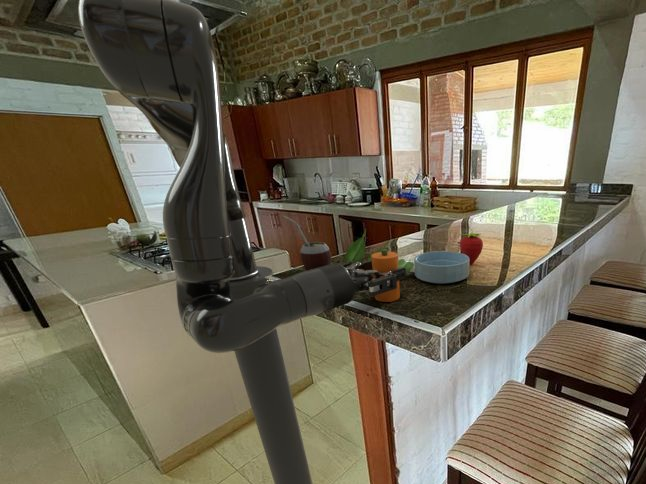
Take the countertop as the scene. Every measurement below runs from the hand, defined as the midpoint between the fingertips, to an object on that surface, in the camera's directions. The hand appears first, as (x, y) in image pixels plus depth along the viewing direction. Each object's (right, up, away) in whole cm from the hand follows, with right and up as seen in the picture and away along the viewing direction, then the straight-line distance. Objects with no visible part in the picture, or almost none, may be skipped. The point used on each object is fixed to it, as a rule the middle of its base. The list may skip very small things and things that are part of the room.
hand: (390, 268), depth 68 cm
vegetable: (-1, -6, +2) cm, 6 cm away
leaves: (-4, +1, +16) cm, 17 cm away
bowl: (+11, 0, +13) cm, 17 cm away
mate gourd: (-19, 0, +15) cm, 25 cm away
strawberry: (+20, +4, +21) cm, 29 cm away
